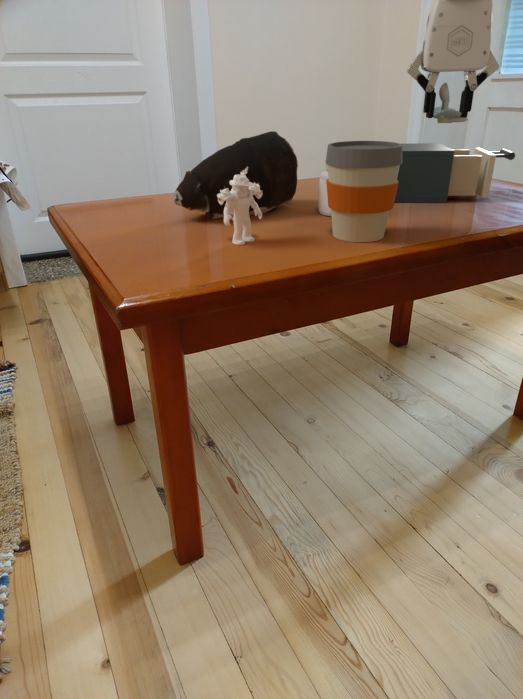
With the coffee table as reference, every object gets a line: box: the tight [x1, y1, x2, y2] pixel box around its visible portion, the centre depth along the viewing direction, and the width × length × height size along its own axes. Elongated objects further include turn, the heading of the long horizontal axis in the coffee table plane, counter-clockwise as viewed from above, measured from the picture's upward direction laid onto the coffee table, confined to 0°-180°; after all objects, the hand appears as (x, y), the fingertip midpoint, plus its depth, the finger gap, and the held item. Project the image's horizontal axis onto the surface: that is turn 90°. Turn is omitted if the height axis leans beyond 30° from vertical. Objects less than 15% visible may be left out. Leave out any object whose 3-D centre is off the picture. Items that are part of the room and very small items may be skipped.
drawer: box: [448, 147, 516, 199], centre depth 115 cm, size 20×13×9 cm, turn 84°
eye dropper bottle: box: [317, 158, 331, 217], centre depth 102 cm, size 4×6×12 cm
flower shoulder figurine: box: [217, 167, 263, 246], centre depth 85 cm, size 9×4×12 cm, turn 135°
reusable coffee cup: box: [325, 140, 403, 243], centre depth 87 cm, size 13×13×15 cm
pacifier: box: [432, 82, 469, 124], centre depth 87 cm, size 7×6×6 cm
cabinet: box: [394, 142, 454, 204], centre depth 116 cm, size 16×14×11 cm
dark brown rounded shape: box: [172, 130, 299, 220], centre depth 104 cm, size 15×15×25 cm
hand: (446, 115), depth 88 cm, fingers closed on pacifier, 5 cm apart
